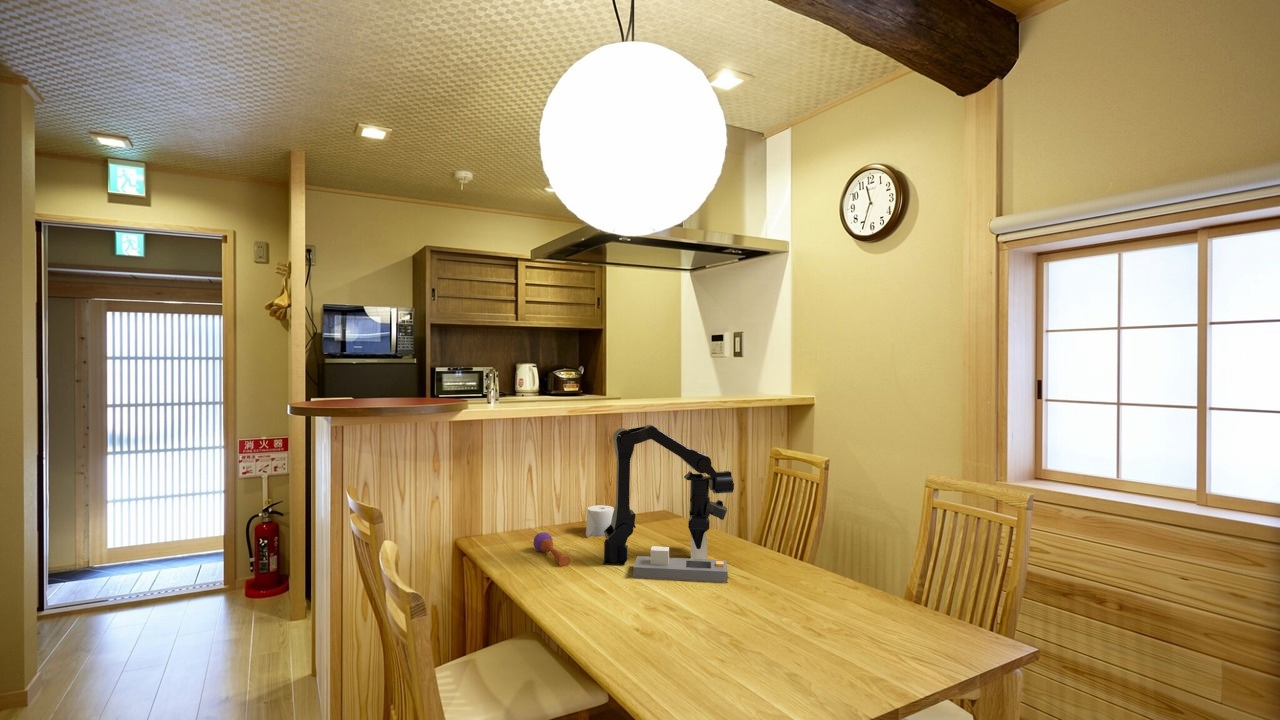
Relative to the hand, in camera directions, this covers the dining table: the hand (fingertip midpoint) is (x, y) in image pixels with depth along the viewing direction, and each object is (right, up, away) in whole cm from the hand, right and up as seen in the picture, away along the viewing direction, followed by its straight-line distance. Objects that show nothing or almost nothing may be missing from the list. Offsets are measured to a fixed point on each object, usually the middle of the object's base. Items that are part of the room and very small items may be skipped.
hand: (698, 544), depth 192 cm
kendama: (-45, -4, -1) cm, 46 cm away
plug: (0, -4, 0) cm, 4 cm away
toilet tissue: (-33, -4, +25) cm, 41 cm away
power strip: (-7, -4, -15) cm, 17 cm away
